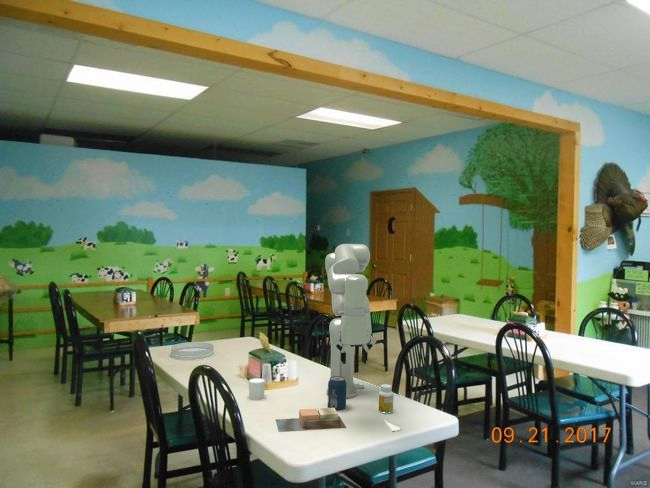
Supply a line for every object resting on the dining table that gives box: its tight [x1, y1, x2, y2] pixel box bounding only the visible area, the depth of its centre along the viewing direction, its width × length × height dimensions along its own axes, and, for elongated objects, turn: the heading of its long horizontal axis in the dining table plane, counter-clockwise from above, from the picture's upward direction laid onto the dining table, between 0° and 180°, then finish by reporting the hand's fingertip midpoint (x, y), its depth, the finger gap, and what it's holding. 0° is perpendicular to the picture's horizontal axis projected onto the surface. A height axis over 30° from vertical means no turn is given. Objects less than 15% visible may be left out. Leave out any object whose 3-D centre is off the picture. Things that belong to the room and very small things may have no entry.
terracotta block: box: [298, 408, 319, 428], centre depth 170 cm, size 6×6×4 cm
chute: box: [275, 415, 347, 433], centre depth 170 cm, size 23×11×4 cm, turn 101°
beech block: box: [317, 407, 339, 420], centre depth 171 cm, size 6×6×4 cm
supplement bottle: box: [378, 383, 394, 414], centre depth 186 cm, size 5×5×10 cm
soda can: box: [327, 376, 347, 411], centre depth 187 cm, size 7×7×12 cm
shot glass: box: [248, 377, 266, 401], centre depth 199 cm, size 7×7×7 cm
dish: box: [170, 341, 215, 361], centre depth 265 cm, size 22×22×5 cm
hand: (353, 362), depth 173 cm, fingers open, 6 cm apart
